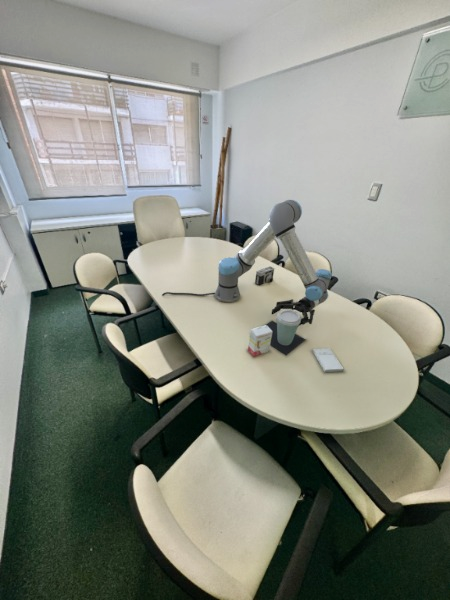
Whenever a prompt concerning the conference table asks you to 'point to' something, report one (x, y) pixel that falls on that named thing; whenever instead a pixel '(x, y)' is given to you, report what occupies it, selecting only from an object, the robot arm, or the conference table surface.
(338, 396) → the conference table surface
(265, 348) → the ink box
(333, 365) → the hard drive
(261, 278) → the camera
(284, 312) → the disposable coffee cup
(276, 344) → the mat
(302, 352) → the conference table surface
